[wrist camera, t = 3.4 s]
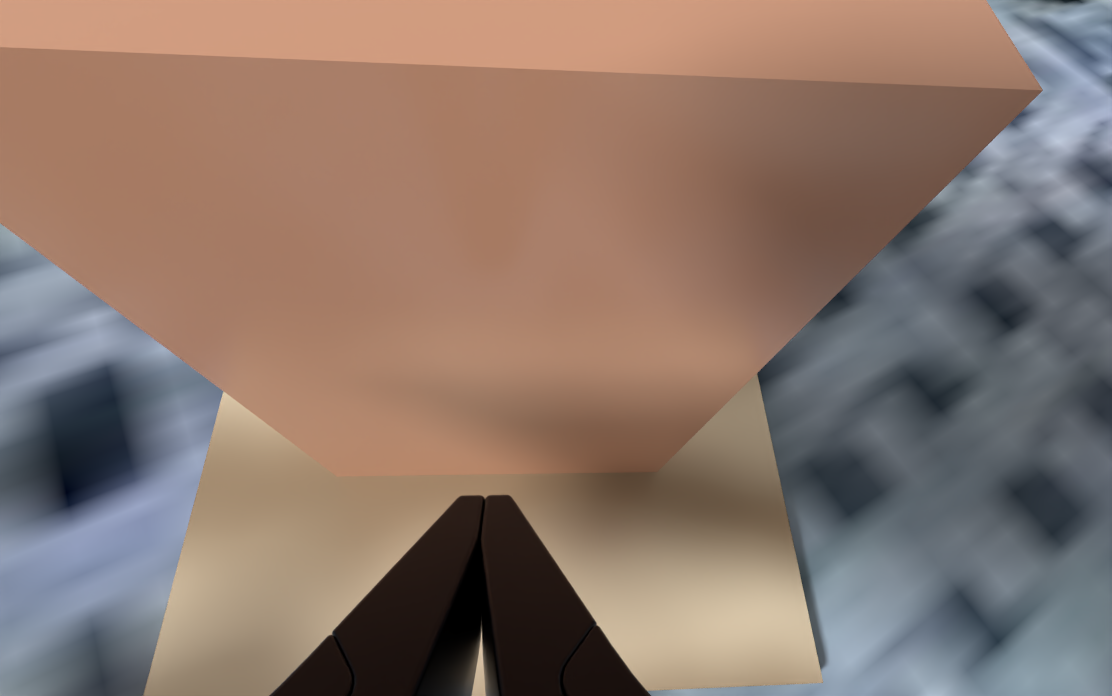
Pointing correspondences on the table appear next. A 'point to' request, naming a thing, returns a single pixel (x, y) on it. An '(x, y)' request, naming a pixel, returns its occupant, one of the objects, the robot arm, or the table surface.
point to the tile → (485, 199)
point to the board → (556, 516)
